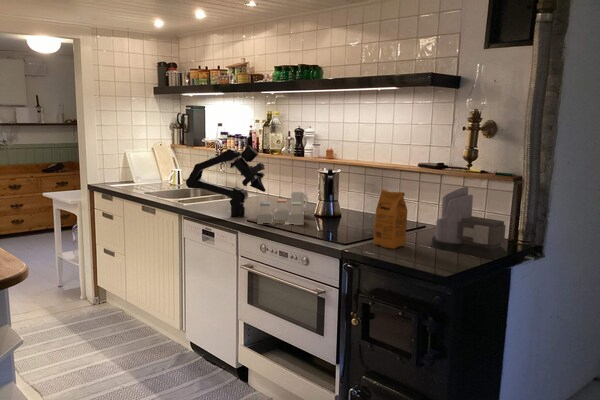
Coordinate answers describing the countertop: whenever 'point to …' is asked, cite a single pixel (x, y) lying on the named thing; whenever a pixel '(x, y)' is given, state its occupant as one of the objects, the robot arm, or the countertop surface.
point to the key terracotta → (281, 205)
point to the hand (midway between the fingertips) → (264, 191)
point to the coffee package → (390, 220)
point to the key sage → (296, 207)
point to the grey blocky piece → (467, 228)
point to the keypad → (281, 217)
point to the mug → (299, 199)
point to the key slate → (265, 208)
